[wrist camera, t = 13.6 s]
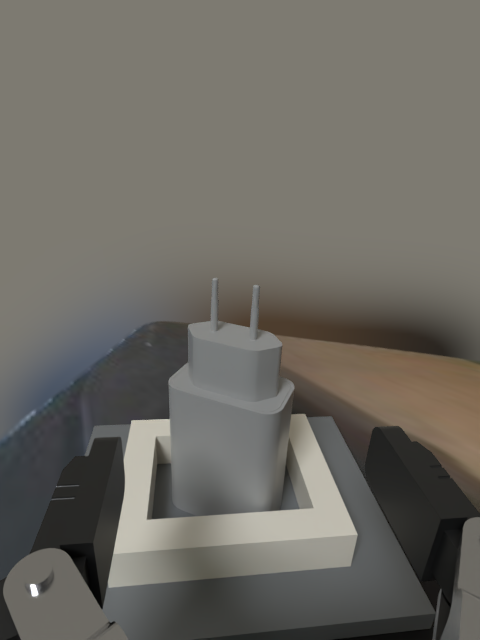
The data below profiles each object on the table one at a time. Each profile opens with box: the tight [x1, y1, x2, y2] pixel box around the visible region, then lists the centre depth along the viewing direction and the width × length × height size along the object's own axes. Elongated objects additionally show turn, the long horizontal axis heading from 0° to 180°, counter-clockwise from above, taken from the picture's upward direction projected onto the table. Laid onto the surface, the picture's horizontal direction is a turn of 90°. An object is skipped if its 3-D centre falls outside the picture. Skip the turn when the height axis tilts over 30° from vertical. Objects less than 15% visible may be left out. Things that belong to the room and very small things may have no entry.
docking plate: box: [85, 414, 436, 640], centre depth 21 cm, size 16×13×3 cm
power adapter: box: [169, 278, 294, 516], centre depth 19 cm, size 3×5×12 cm, turn 67°
